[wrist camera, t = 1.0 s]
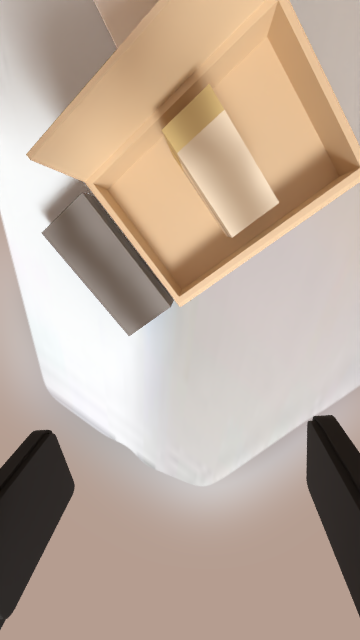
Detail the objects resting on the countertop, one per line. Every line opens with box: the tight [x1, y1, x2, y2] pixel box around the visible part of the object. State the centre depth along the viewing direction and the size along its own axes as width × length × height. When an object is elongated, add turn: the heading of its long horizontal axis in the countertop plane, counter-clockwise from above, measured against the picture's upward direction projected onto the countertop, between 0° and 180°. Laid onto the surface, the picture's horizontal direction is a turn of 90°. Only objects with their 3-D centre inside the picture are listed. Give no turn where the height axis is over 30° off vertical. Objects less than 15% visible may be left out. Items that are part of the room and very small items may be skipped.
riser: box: [42, 193, 174, 336], centre depth 29 cm, size 6×15×3 cm, turn 37°
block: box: [162, 84, 279, 238], centre depth 23 cm, size 4×10×7 cm, turn 37°
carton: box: [26, 0, 360, 307], centre depth 21 cm, size 21×16×12 cm
